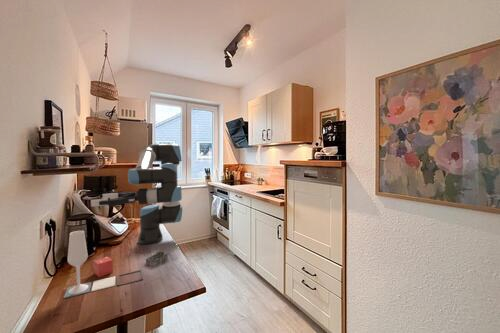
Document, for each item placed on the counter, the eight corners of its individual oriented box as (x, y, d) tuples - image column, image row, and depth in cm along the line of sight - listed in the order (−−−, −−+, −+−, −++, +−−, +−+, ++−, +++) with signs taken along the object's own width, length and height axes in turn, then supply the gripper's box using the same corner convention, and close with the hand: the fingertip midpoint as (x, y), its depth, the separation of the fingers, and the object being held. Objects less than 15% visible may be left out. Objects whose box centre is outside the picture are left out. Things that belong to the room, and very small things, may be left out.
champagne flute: (63, 293, 91) (62, 234, 90) (79, 283, 97) (77, 229, 96) (78, 294, 90) (76, 235, 89) (92, 285, 96) (91, 230, 95)
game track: (141, 270, 110) (141, 269, 110) (142, 280, 101) (142, 279, 101) (68, 287, 96) (68, 286, 96) (62, 299, 87) (62, 298, 87)
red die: (108, 268, 112) (108, 255, 112) (112, 272, 108) (112, 258, 108) (94, 273, 107) (93, 259, 107) (98, 277, 104) (97, 263, 103)
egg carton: (162, 256, 126) (161, 249, 125) (170, 260, 121) (170, 252, 121) (143, 263, 117) (143, 256, 117) (151, 267, 113) (151, 259, 112)
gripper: (143, 210, 96) (86, 215, 90) (152, 198, 120) (107, 201, 114) (142, 193, 95) (84, 197, 89) (151, 184, 119) (106, 187, 113)
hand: (97, 199), depth 102 cm, fingers open, 13 cm apart
